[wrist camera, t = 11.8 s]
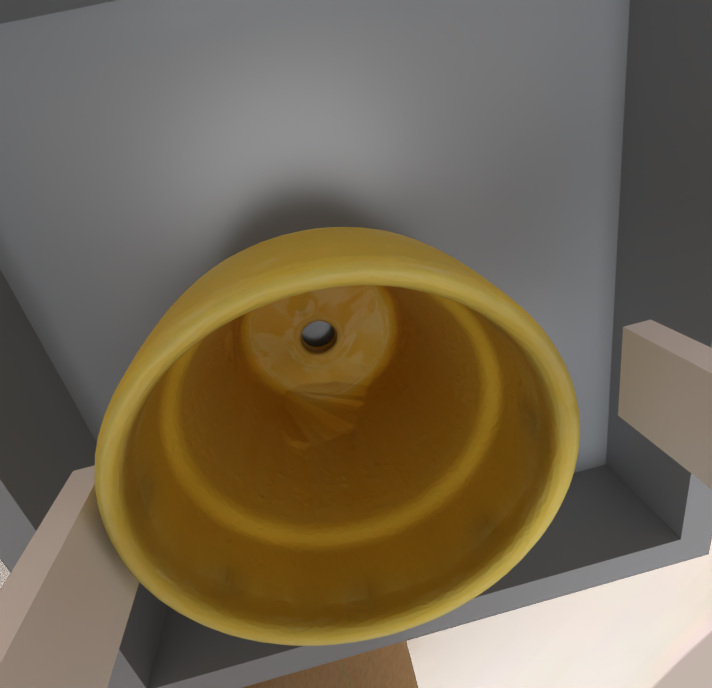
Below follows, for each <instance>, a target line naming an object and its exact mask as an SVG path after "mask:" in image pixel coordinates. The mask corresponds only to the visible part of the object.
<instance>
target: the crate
mask: <svg viewBox="0 0 712 688" xmlns="http://www.w3.org/2000/svg"><path fill="white" fill-rule="evenodd" d="M326 227H362V228H370V229H378V230H384V231H389V232H393V233H397V234H401V235H404V236H407V237H410V238H413V239H416V240H418V241H421V242H423V243H425V244H428V245H430V246H432V247H435V248H436V249H438V250H440V251H442V252H444V253H446V254H448V255H449V256H451V257H453V258H455V259H457V260H458V261H460V262H461V263H463V264H465V265H466V266H468V267H469V268H471V269H472V270H474V271H475V272H477V273H478V274H480V275H481V276H483V277H484V278H485V279H487V280H488V281H489V282H491V283H492V284H493V285H495V286H496V287H497V288H499V289H500V290H501V291H503V292H504V293H505V294H507V295H508V296H509V297H510V298H512V299H513V300H514V301H515V302H516V303H517V304H519V305H520V306H521V307H522V308H523V309H524V310H525V311H527V312H528V313H529V314H530V315H531V317H532V318H533V319H534V320H535V321H536V322H537V323H538V324H539V325H540V326H541V327H542V329H543V330H544V331H545V332H546V334H547V335H548V337H549V338H550V339H551V341H552V342H553V344H554V345H555V347H556V349H557V350H558V352H559V354H560V355H561V357H562V359H563V360H564V362H565V364H566V367H567V369H568V372H569V374H570V377H571V379H572V383H573V386H574V389H575V393H576V398H577V403H578V408H579V416H580V439H579V450H578V456H577V462H576V467H575V470H574V474H573V477H572V480H571V483H570V486H569V488H568V491H567V493H566V496H565V498H564V500H563V502H562V504H561V506H560V508H559V510H558V512H557V513H556V515H555V517H554V519H553V520H552V522H551V524H550V525H549V527H548V528H547V529H546V531H545V532H544V534H543V535H542V536H541V538H540V539H539V540H538V541H537V543H536V544H535V545H534V546H533V547H532V548H531V549H530V551H529V552H528V553H527V554H526V555H525V556H524V557H523V559H522V560H521V561H520V562H519V563H518V564H516V565H515V566H514V567H513V568H512V569H511V570H510V571H509V572H508V573H507V574H506V575H505V576H503V577H502V578H501V579H500V580H499V581H497V582H496V583H495V584H494V585H492V586H491V587H490V588H488V589H487V590H485V591H484V592H482V593H481V594H479V595H478V596H477V597H475V598H473V599H472V600H470V601H468V602H467V603H465V604H463V605H462V606H460V607H458V608H456V609H454V610H452V611H451V612H449V613H447V614H445V615H443V616H441V617H439V618H436V619H434V620H432V621H429V622H427V623H424V624H421V625H419V626H416V627H413V628H410V629H408V630H405V631H401V632H399V633H396V634H392V635H388V636H383V637H379V638H374V639H369V640H364V641H358V642H353V643H343V644H335V645H324V646H293V645H281V644H272V643H263V642H258V641H253V640H248V639H243V638H240V637H236V636H232V635H228V634H225V633H223V632H220V631H217V630H214V629H212V628H209V627H206V626H204V625H202V624H200V623H198V622H196V621H194V620H192V619H190V618H188V617H186V616H184V615H182V614H180V613H178V612H177V611H175V610H174V609H172V608H171V607H169V606H168V605H166V604H165V603H163V602H162V601H160V600H159V599H158V598H157V597H155V596H154V595H153V594H152V593H151V592H150V591H149V590H148V589H146V588H145V587H144V586H143V585H142V584H141V583H140V582H139V585H138V588H137V591H136V595H135V598H134V601H133V605H132V608H131V611H130V614H129V618H128V621H127V624H126V628H125V631H124V634H123V637H122V641H121V644H120V647H119V650H118V654H117V657H116V660H115V664H114V667H113V670H112V673H111V677H110V680H109V683H108V687H107V688H242V687H245V686H249V685H252V684H256V683H259V682H263V681H266V680H270V679H273V678H277V677H280V676H284V675H287V674H291V673H294V672H298V671H301V670H305V669H308V668H312V667H315V666H319V665H322V664H326V663H329V662H333V661H336V660H340V659H343V658H347V657H350V656H354V655H357V654H361V653H364V652H368V651H371V650H375V649H378V648H382V647H385V646H389V645H392V644H396V643H399V642H403V641H406V640H410V639H413V638H417V637H420V636H424V635H427V634H431V633H434V632H438V631H441V630H445V629H448V628H452V627H455V626H459V625H462V624H466V623H469V622H473V621H476V620H480V619H483V618H487V617H490V616H494V615H497V614H501V613H504V612H508V611H511V610H515V609H518V608H522V607H525V606H529V605H532V604H536V603H539V602H543V601H546V600H550V599H553V598H557V597H560V596H564V595H567V594H571V593H574V592H578V591H581V590H585V589H588V588H592V587H595V586H599V585H602V584H606V583H609V582H613V581H616V580H620V579H623V578H627V577H630V576H634V575H637V574H641V573H644V572H648V571H651V570H655V569H658V568H662V567H665V566H669V565H672V564H676V563H679V562H683V561H686V560H690V559H693V558H697V557H700V556H704V555H707V554H709V549H710V544H711V539H712V489H710V488H709V487H708V486H707V485H705V484H704V483H703V482H702V481H700V480H699V479H698V478H697V477H695V476H694V475H693V474H691V473H690V472H689V471H688V470H686V469H685V468H684V467H683V466H681V465H680V464H679V463H678V462H676V461H675V460H674V459H672V458H671V457H670V456H669V455H667V454H666V453H665V452H664V451H662V450H661V449H660V448H659V447H657V446H656V445H655V444H654V443H652V442H651V441H650V440H648V439H647V438H646V437H645V436H643V435H642V434H641V433H640V432H638V431H637V430H636V429H635V428H633V427H632V426H631V425H629V424H628V423H627V422H626V421H624V420H623V419H622V418H621V417H619V416H618V407H619V389H620V372H621V354H622V337H623V327H624V326H628V325H632V324H636V323H639V322H643V321H647V320H653V321H655V322H657V323H659V324H662V325H664V326H666V327H668V328H670V329H672V330H674V331H676V332H679V333H681V334H683V335H685V336H687V337H689V338H691V339H694V340H696V341H698V342H700V343H702V344H704V345H706V346H709V347H711V348H712V0H0V559H1V561H2V562H3V563H4V565H5V566H6V567H7V568H8V570H9V571H10V572H12V570H13V568H14V567H15V565H16V564H17V562H18V560H19V559H20V557H21V555H22V554H23V552H24V550H25V549H26V547H27V545H28V544H29V542H30V541H31V539H32V537H33V536H34V534H35V532H36V531H37V529H38V527H39V526H40V524H41V523H42V521H43V519H44V518H45V516H46V514H47V513H48V511H49V509H50V508H51V506H52V505H53V503H54V501H55V500H56V498H57V496H58V495H59V493H60V491H61V490H62V488H63V487H64V485H65V483H66V482H67V480H68V478H69V477H70V475H71V473H72V472H73V471H75V470H79V469H83V468H86V467H90V466H94V465H95V452H96V446H97V440H98V435H99V432H100V428H101V425H102V422H103V418H104V415H105V413H106V410H107V408H108V405H109V403H110V401H111V398H112V396H113V394H114V392H115V390H116V388H117V386H118V384H119V383H120V381H121V379H122V377H123V376H124V374H125V372H126V370H127V369H128V367H129V365H130V364H131V362H132V361H133V359H134V357H135V356H136V354H137V352H138V351H139V349H140V348H141V346H142V345H143V343H144V342H145V340H146V339H147V337H148V336H149V334H150V333H151V332H152V330H153V329H154V328H155V326H156V325H157V324H158V322H159V321H160V320H161V318H162V317H163V316H164V314H165V313H166V312H167V311H168V310H169V308H170V307H171V306H172V305H173V304H174V303H175V302H176V301H177V299H178V298H179V297H180V296H181V295H182V294H183V293H184V292H185V291H186V290H187V289H188V288H189V287H191V286H192V285H193V284H194V283H195V282H196V281H197V280H198V279H199V278H201V277H202V276H203V275H204V274H206V273H207V272H208V271H209V270H211V269H212V268H213V267H215V266H216V265H218V264H219V263H221V262H223V261H224V260H226V259H227V258H229V257H231V256H233V255H235V254H237V253H239V252H241V251H243V250H245V249H247V248H249V247H251V246H253V245H256V244H258V243H260V242H263V241H266V240H269V239H272V238H275V237H278V236H281V235H285V234H290V233H294V232H298V231H303V230H309V229H315V228H326ZM333 336H334V328H333V327H332V326H331V325H330V324H328V323H326V322H323V321H315V322H312V323H310V324H309V325H307V326H306V327H305V329H304V330H303V332H302V337H303V340H304V341H305V342H306V343H307V344H308V345H310V346H313V347H319V346H324V345H326V344H328V343H329V342H330V341H331V340H332V339H333Z"/></svg>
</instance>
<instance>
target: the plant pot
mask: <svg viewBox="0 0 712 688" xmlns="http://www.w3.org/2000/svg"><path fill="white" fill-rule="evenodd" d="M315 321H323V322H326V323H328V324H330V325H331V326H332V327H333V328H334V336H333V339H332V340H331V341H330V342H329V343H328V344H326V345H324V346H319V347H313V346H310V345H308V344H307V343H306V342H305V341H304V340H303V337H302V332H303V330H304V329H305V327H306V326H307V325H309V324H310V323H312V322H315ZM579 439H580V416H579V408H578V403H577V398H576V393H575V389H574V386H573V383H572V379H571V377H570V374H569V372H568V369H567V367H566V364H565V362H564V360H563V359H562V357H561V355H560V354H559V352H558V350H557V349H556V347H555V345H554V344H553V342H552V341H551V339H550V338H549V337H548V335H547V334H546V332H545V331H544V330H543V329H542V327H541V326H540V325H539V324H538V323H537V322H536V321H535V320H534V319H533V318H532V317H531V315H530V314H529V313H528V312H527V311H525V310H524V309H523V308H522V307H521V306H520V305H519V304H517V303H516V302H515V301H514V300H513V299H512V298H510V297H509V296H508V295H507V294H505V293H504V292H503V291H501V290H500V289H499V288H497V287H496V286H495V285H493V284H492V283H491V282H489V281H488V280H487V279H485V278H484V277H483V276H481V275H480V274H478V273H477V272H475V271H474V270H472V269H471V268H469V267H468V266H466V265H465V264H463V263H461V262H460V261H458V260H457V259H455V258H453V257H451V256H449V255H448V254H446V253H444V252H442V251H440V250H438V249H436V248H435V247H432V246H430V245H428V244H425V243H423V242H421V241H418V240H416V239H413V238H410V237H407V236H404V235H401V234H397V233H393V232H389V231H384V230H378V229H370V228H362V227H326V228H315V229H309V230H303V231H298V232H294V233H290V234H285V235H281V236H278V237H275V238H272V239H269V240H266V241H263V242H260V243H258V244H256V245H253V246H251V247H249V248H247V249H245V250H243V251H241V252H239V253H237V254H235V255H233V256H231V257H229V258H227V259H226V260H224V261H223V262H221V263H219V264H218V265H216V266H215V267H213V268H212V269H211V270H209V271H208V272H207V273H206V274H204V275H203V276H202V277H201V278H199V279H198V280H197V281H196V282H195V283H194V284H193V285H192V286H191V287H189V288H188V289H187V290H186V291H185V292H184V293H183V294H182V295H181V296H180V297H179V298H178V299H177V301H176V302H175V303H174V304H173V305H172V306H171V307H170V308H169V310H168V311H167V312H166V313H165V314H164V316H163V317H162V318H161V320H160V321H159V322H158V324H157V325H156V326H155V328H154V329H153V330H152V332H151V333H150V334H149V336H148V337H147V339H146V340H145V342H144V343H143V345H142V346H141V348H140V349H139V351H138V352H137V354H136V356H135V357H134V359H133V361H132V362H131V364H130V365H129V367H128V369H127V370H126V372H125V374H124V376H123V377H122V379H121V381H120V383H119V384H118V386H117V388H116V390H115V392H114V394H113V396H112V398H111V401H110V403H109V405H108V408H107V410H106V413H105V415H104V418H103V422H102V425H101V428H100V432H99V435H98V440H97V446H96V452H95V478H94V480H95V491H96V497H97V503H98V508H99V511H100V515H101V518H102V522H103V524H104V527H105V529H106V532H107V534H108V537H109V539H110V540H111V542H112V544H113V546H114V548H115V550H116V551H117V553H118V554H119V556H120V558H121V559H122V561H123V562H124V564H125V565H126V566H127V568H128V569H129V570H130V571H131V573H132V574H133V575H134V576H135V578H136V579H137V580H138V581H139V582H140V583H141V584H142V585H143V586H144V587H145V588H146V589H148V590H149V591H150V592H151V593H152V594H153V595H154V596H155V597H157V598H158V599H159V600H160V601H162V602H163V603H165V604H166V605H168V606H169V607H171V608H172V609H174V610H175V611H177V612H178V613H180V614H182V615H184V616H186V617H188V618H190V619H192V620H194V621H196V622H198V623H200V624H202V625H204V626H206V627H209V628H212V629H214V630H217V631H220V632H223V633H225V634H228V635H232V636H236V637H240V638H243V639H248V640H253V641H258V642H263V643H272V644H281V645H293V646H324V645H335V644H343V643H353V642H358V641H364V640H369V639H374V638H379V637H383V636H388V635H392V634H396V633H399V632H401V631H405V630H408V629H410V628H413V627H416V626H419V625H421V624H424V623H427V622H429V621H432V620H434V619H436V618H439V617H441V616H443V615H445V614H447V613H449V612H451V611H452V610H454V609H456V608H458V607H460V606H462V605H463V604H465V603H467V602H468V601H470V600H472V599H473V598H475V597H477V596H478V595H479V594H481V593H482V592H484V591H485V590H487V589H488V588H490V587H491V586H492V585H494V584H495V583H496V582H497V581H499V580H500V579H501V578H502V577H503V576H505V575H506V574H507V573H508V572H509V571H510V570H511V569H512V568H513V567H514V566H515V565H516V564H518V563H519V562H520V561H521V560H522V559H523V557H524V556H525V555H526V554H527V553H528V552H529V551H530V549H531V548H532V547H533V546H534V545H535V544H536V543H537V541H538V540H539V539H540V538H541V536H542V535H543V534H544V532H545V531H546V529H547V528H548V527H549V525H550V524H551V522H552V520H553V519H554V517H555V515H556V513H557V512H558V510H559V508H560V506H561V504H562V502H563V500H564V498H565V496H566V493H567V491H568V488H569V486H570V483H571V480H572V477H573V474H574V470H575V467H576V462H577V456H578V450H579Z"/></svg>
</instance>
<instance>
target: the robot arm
mask: <svg viewBox="0 0 712 688" xmlns="http://www.w3.org/2000/svg"><path fill="white" fill-rule="evenodd" d="M618 416H619V417H621V418H622V419H623V420H624V421H626V422H627V423H628V424H629V425H631V426H632V427H633V428H635V429H636V430H637V431H638V432H640V433H641V434H642V435H643V436H645V437H646V438H647V439H648V440H650V441H651V442H652V443H654V444H655V445H656V446H657V447H659V448H660V449H661V450H662V451H664V452H665V453H666V454H667V455H669V456H670V457H671V458H672V459H674V460H675V461H676V462H678V463H679V464H680V465H681V466H683V467H684V468H685V469H686V470H688V471H689V472H690V473H691V474H693V475H694V476H695V477H697V478H698V479H699V480H700V481H702V482H703V483H704V484H705V485H707V486H708V487H709V488H710V489H712V348H711V347H709V346H706V345H704V344H702V343H700V342H698V341H696V340H694V339H691V338H689V337H687V336H685V335H683V334H681V333H679V332H676V331H674V330H672V329H670V328H668V327H666V326H664V325H662V324H659V323H657V322H655V321H653V320H647V321H643V322H639V323H636V324H632V325H628V326H624V327H623V337H622V354H621V372H620V389H619V407H618ZM94 478H95V465H94V466H90V467H86V468H83V469H79V470H75V471H73V472H72V473H71V475H70V477H69V478H68V480H67V482H66V483H65V485H64V487H63V488H62V490H61V491H60V493H59V495H58V496H57V498H56V500H55V501H54V503H53V505H52V506H51V508H50V509H49V511H48V513H47V514H46V516H45V518H44V519H43V521H42V523H41V524H40V526H39V527H38V529H37V531H36V532H35V534H34V536H33V537H32V539H31V541H30V542H29V544H28V545H27V547H26V549H25V550H24V552H23V554H22V555H21V557H20V559H19V560H18V562H17V564H16V565H15V567H14V568H13V570H12V572H11V573H10V575H9V577H8V578H7V580H6V582H5V583H4V585H3V586H2V588H1V590H0V688H107V687H108V683H109V680H110V677H111V673H112V670H113V667H114V664H115V660H116V657H117V654H118V650H119V647H120V644H121V641H122V637H123V634H124V631H125V628H126V624H127V621H128V618H129V614H130V611H131V608H132V605H133V601H134V598H135V595H136V591H137V588H138V585H139V581H138V580H137V579H136V578H135V576H134V575H133V574H132V573H131V571H130V570H129V569H128V568H127V566H126V565H125V564H124V562H123V561H122V559H121V558H120V556H119V554H118V553H117V551H116V550H115V548H114V546H113V544H112V542H111V540H110V539H109V537H108V534H107V532H106V529H105V527H104V524H103V522H102V518H101V515H100V511H99V508H98V503H97V497H96V491H95V480H94Z"/></svg>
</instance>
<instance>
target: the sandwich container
mask: <svg viewBox="0 0 712 688" xmlns="http://www.w3.org/2000/svg"><path fill="white" fill-rule="evenodd" d="M242 688H418V685H417V681H416V677H415V674H414V670H413V666H412V662H411V658H410V654H409V651H408V647H407V643H406V641H403V642H399V643H396V644H392V645H389V646H385V647H382V648H378V649H375V650H371V651H368V652H364V653H361V654H357V655H354V656H350V657H347V658H343V659H340V660H336V661H333V662H329V663H326V664H322V665H319V666H315V667H312V668H308V669H305V670H301V671H298V672H294V673H291V674H287V675H284V676H280V677H277V678H273V679H270V680H266V681H263V682H259V683H256V684H252V685H249V686H245V687H242Z"/></svg>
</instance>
